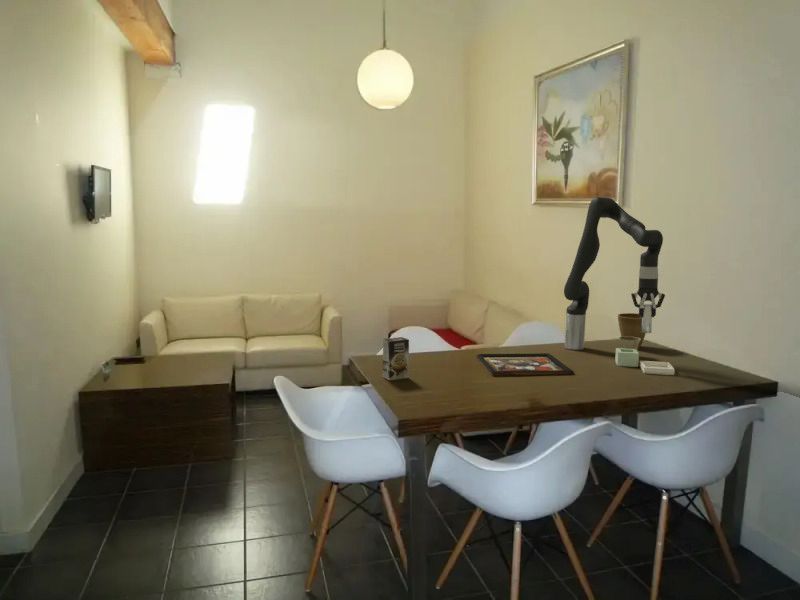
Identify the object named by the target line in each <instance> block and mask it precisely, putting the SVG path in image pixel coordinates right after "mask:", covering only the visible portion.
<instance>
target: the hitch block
mask: <svg viewBox="0 0 800 600" xmlns="http://www.w3.org/2000/svg"><path fill="white" fill-rule="evenodd" d="M639 355H640V353H639V352H638V349H637V350H636V349H625V348H621V347H615V359H614V360H615V361H614V362H615V364H616V366H618V367H634V368H636V367H637V368H638V367H639V361H640V357H639Z"/></svg>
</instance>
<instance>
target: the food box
mask: <svg viewBox="0 0 800 600" xmlns="http://www.w3.org/2000/svg"><path fill="white" fill-rule="evenodd" d="M409 358H410V339H408V338H406V337H402V336H401V337H391V338H390V337H388V338H383V339H382V378H384V379H385V380H388V381H396V380H404V379H409V373H410V372H409V371H410V369H409V364H410V362H409V361H410V359H409Z"/></svg>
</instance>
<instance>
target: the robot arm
mask: <svg viewBox="0 0 800 600" xmlns="http://www.w3.org/2000/svg"><path fill="white" fill-rule="evenodd" d="M601 218H602V219H607V218H608V219H610V220H613V221H615V222H617V224H618V226H619V228H620V229H621V231H623V232H624V233H625V234H627V235H629V236H630V237H631V238H632V239H633V240H634V241H635V243H636V244H637V245H639V246H641V247H643V248H647V249H646V251H644V252H643V253H641V254H640V259H639V260H640V261H639V266H640V267H639V272H638V288H637V289H638V290H637V292H633V293H630V296H631V299H632V303H633V304H634V305H633V306H634V307H636V308H638V314H639V316H640V317H643V309H642V307H643V304H645V302H650V303H651V305H652V318H654V317H655V316H657V315H656V314H657V308H661V307H662V304H663V301H664V299H665V297H666V295H665V293H661V292H659V289H658V285H659V268H658V266H659V255H660V253H661V250H662V246H663V241H664V236H663V234H662V231H660V230H658V229H646V225H644V223H643V222H641V221H640V220H639V219H636V218H635V217H634V216H632V215H630V214H629V213H628V212H626V210H624V208H622V206H620V205H619V204H618V203H617V202H616V201H615V200H614V199H613V198H611V197H605V196H604V197H603V196H602V197H601V196H595V197H594V198H592V199H591V200H590V202H589V205H588V208H587V213H586V220H585V224H584V229H583V231H582V234H581V235H582V236H581V238H580V242H579V245H578V248H577V251H576V255H575V258H574V261H573V265H572V268H571V271H570V272H569V276H568V277H567V280H566V282H565V285H564V289H563V295H564V297H565V299H566V300H568V301H572V302H571V303H570V305H568V306H567V308H566V315H565V328H564V329H565V332H564V349H565V350H566V349H567V350H574V351H575V350H576V351H577V350H578V351H580V350H584V349H585V340H586V338H585V336H586V321H587V320H586V319H587V317H586V315H587V310H588V307H589V301H590V300H589V299H590V288H589V285H588V283H587V282H586V281H584V280H583V278H584V277H585V274H586V273H587V271H589V269H590V268H591V266H592V265H593V264H594V263H595V261H596V259H597V256H598V253H599V251H600V246H601V245H600V244H601V243H600V239H599V233H598V226H599V222H600V219H601ZM638 296H639V298H640V301H639V303H638V301H637V298H638ZM657 296H658V298H659V299H658V301H657V303H656V300H655V299H656V298H657Z"/></svg>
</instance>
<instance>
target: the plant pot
mask: <svg viewBox="0 0 800 600" xmlns="http://www.w3.org/2000/svg"><path fill="white" fill-rule="evenodd" d="M617 321H618V328H619V333H620V337H622V336H630V337H637V338H640V339H641V340H640V342H639V344H638V349H641V346H642V344H643V343H644V342H643V341H644V339H645V338H646V334H647V333H642V317H640V316H639V313H635V312H633V313H631V312H627V313H624V312H623V313H619V314H617Z"/></svg>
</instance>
